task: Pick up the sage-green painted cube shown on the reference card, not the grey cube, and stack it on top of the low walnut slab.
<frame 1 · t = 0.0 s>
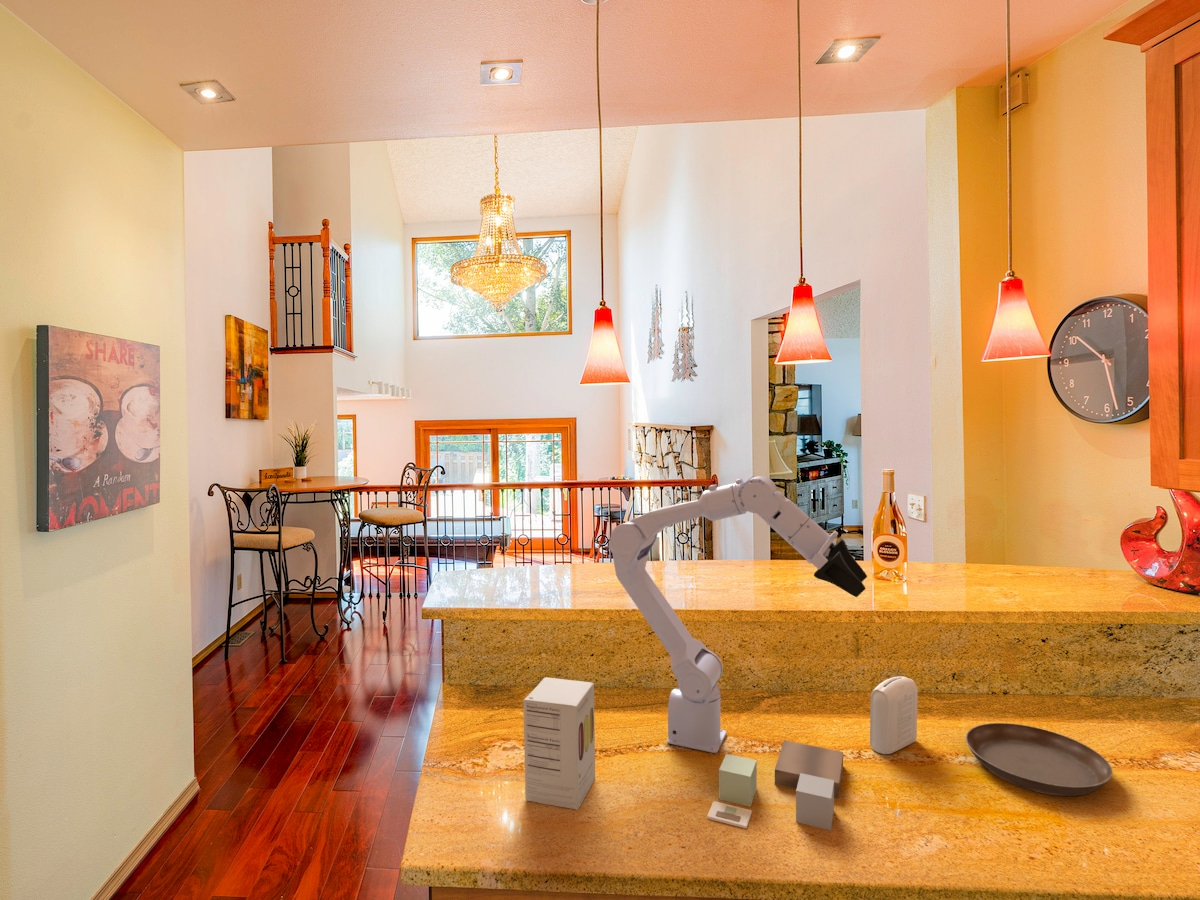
hand: (862, 586, 107), 32 cm above the counter, tool tilted 50°, fingers open, 7 cm apart
grey cube: (815, 816, 98), on the counter
walnut slab: (809, 777, 109), on the counter
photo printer: (893, 745, 118), on the counter
sage cube: (738, 794, 104), on the counter
plant saucer: (1034, 770, 110), on the counter
reference card: (729, 815, 98), on the counter
supplement box: (561, 790, 106), on the counter
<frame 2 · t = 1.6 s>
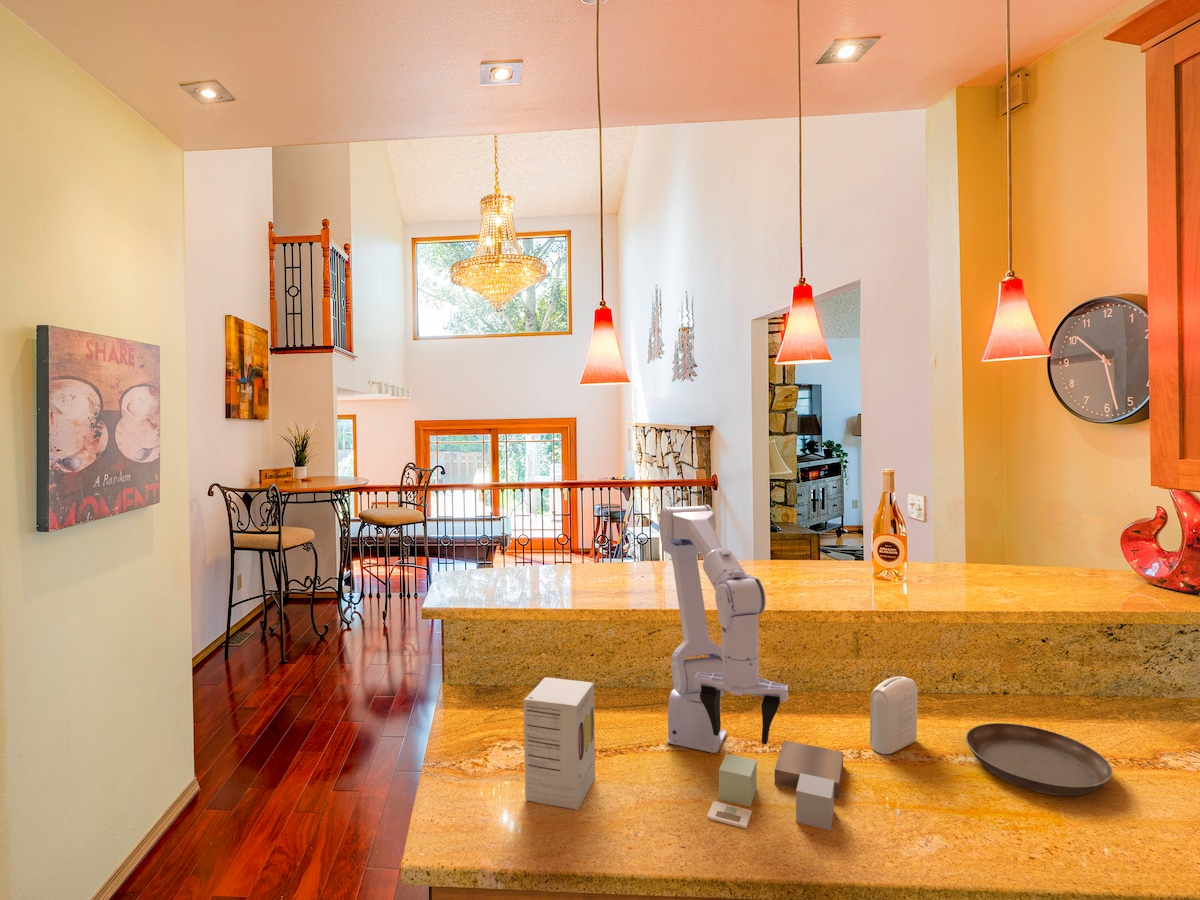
hand: (740, 736, 103), 10 cm above the counter, tool pointing down, fingers open, 7 cm apart
nothing on the counter moved.
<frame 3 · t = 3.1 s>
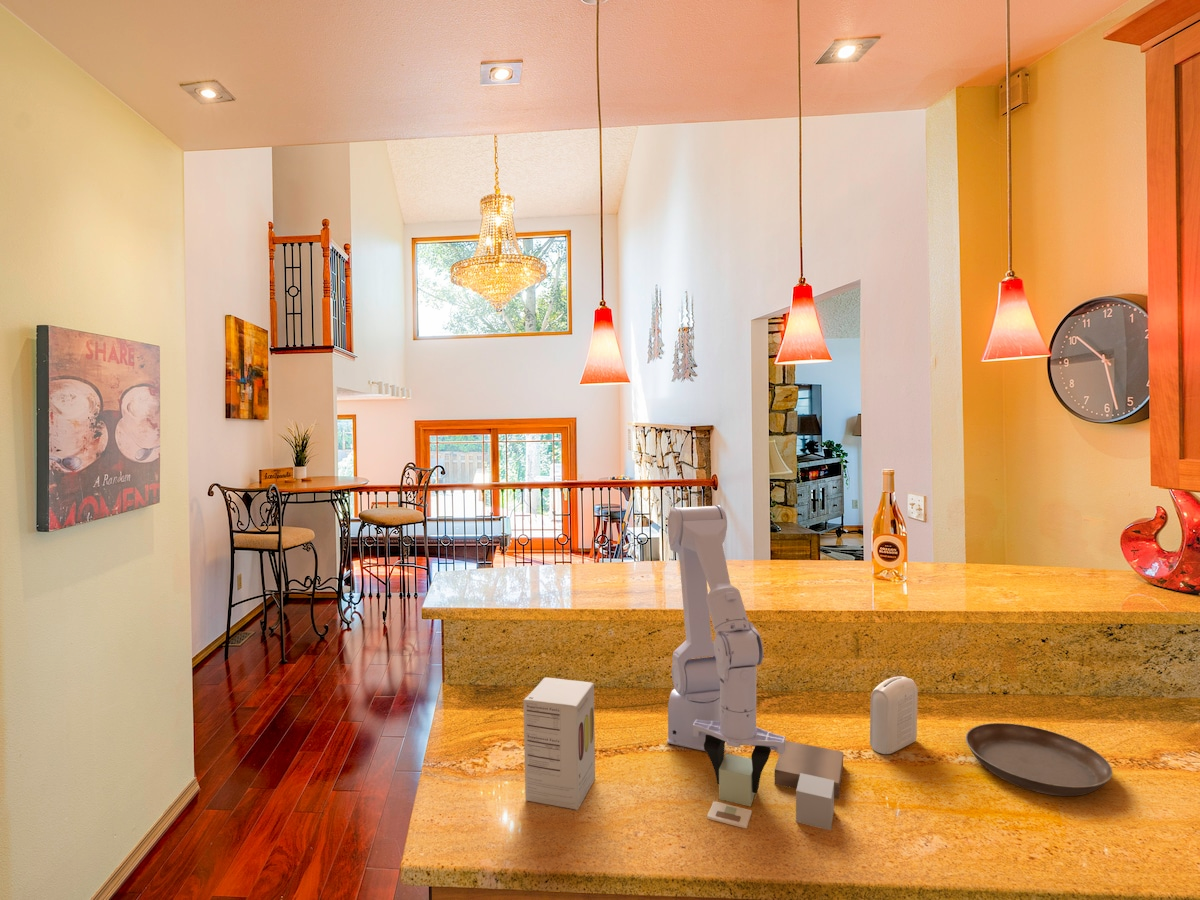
hand: (738, 785, 104), 1 cm above the counter, tool pointing down, fingers closed on sage cube, 5 cm apart
sage cube: (738, 793, 104), on the counter, touching gripper
everything else where it was.
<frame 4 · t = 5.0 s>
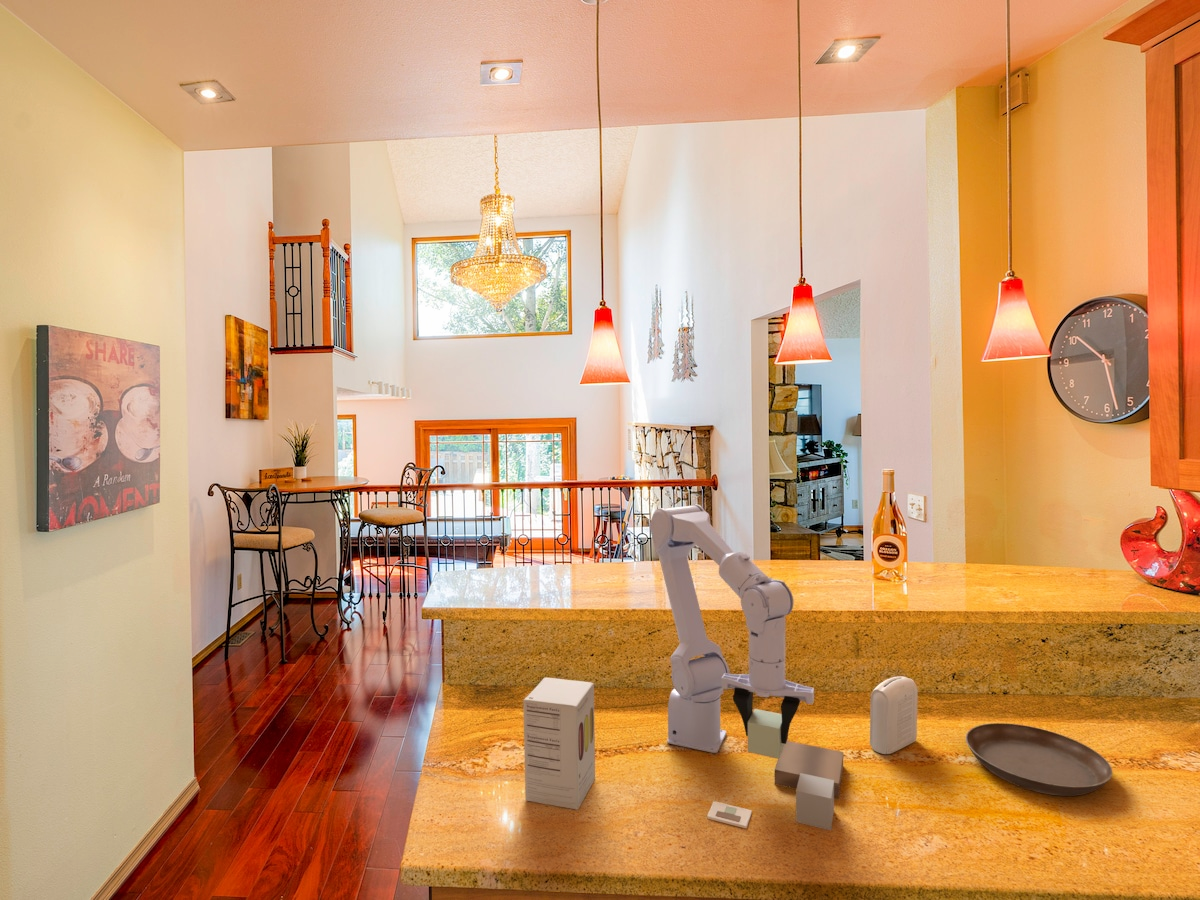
hand: (766, 737, 105), 8 cm above the counter, tool pointing down, fingers closed on sage cube, 5 cm apart
sage cube: (766, 747, 105), point 7 cm above the counter, touching gripper
everything else where it was.
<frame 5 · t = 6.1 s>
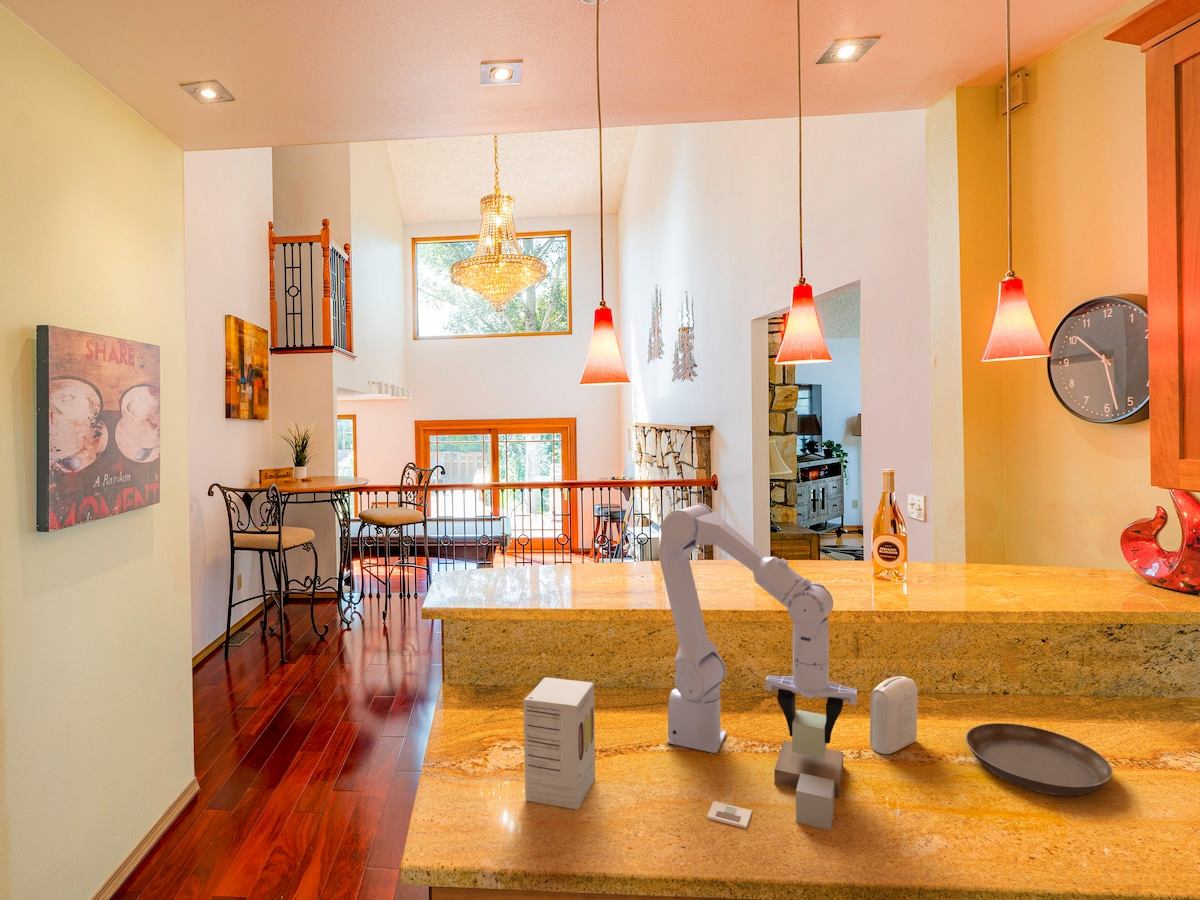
hand: (810, 737, 108), 7 cm above the counter, tool pointing down, fingers closed on sage cube, 5 cm apart
sage cube: (809, 747, 108), point 5 cm above the counter, touching gripper
everything else where it was.
when the fingers open (5 cm above the counter, at t = 6.9 s): sage cube drops 1 cm, point 2 cm above the counter.
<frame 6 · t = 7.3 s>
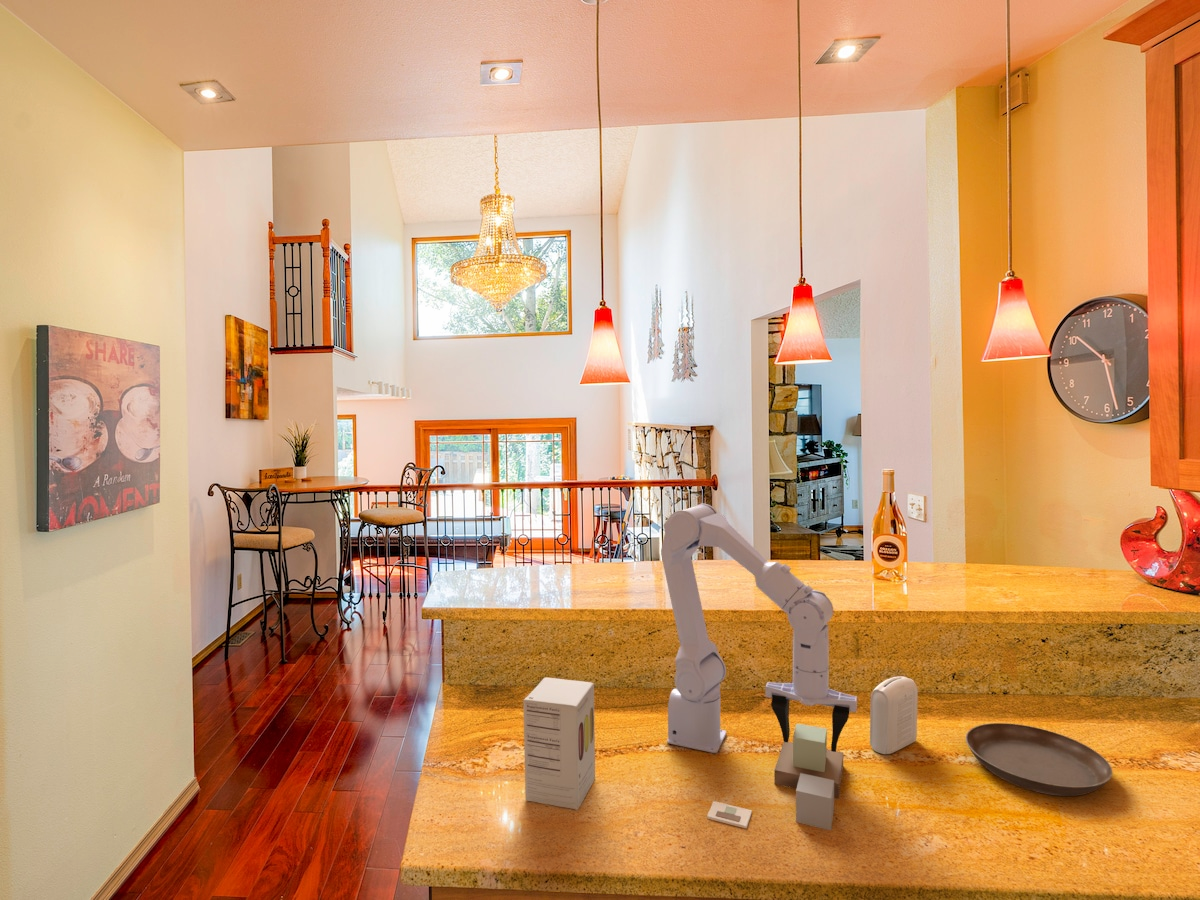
hand: (809, 744, 108), 5 cm above the counter, tool pointing down, fingers open, 7 cm apart
sage cube: (809, 761, 109), point 2 cm above the counter
everything else where it was.
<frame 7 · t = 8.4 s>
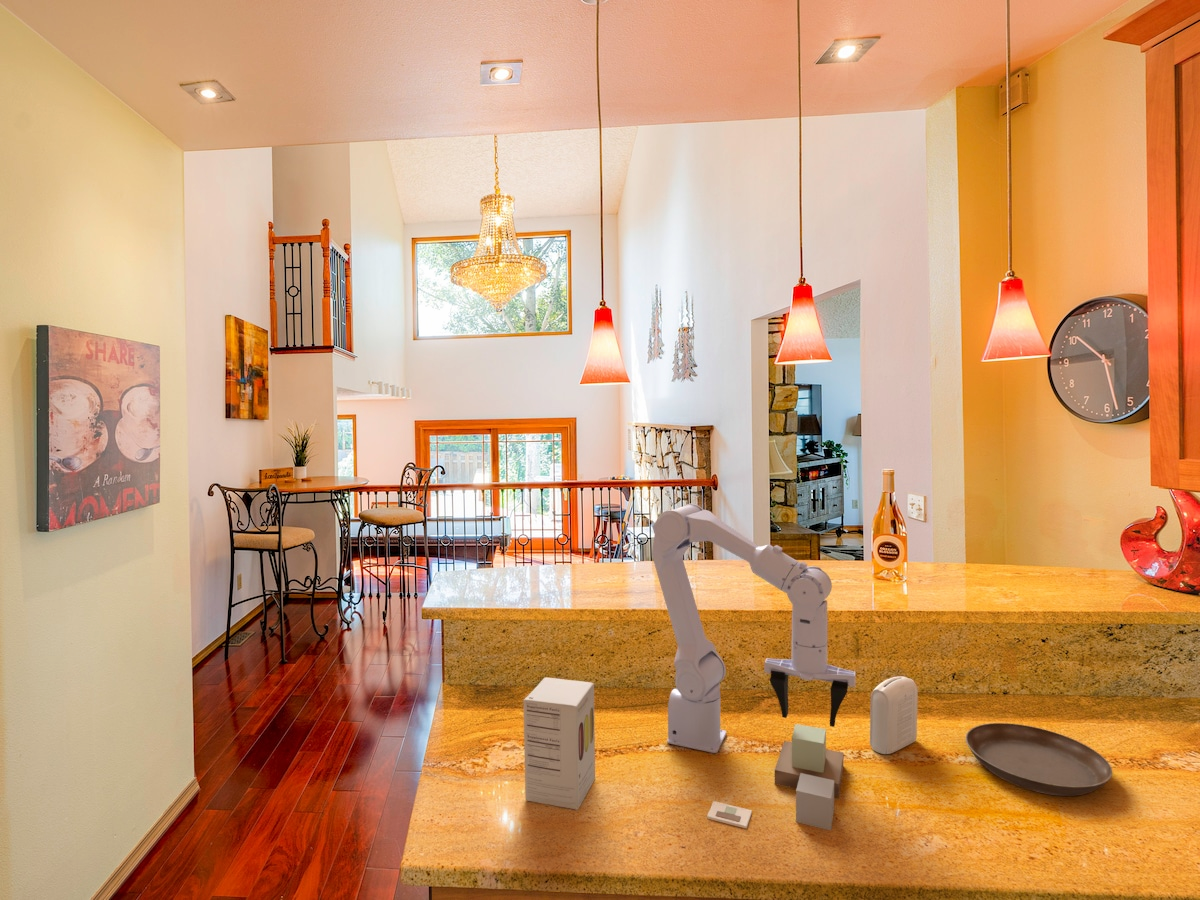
hand: (808, 719, 109), 9 cm above the counter, tool pointing down, fingers open, 7 cm apart
walnut slab: (809, 778, 109), on the counter, touching sage cube
sage cube: (808, 761, 108), point 2 cm above the counter, touching walnut slab
everything else where it was.
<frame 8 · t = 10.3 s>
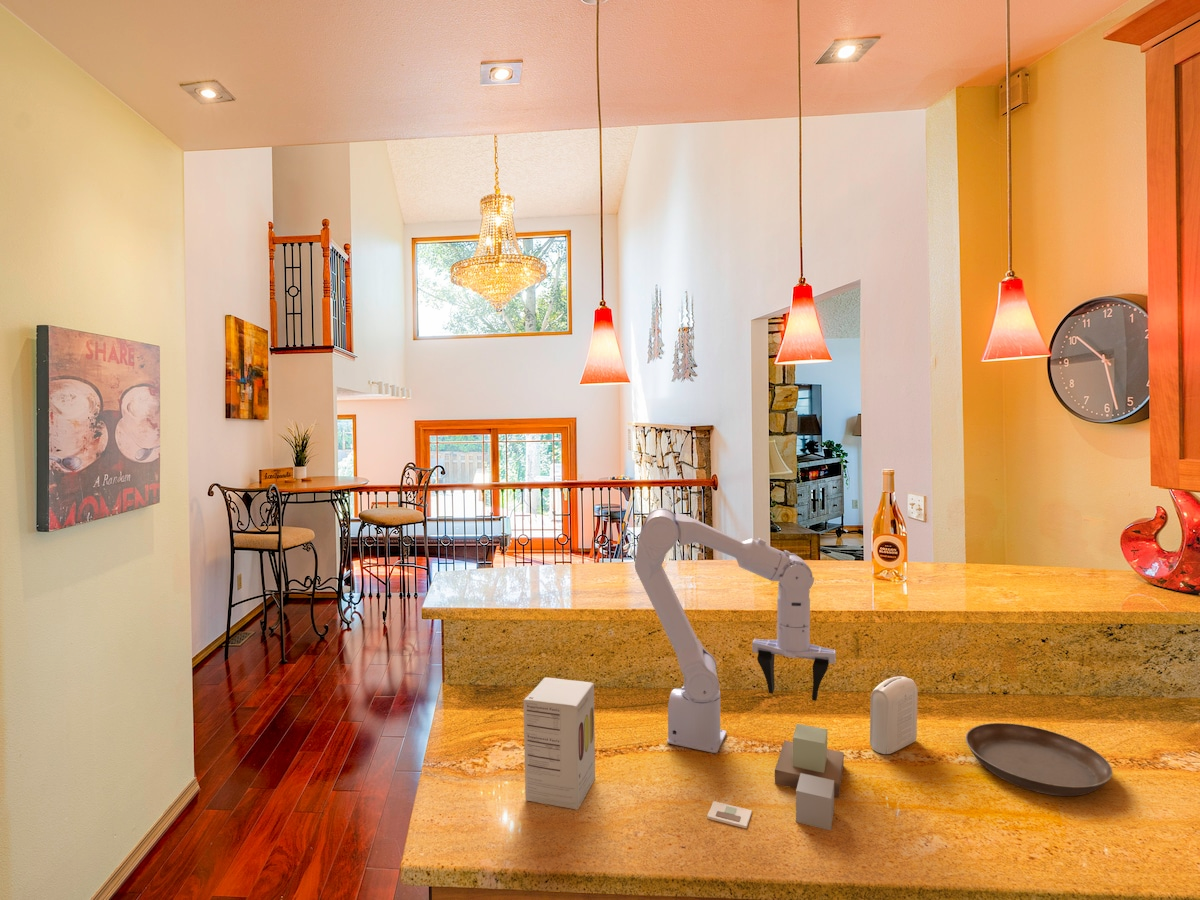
hand: (792, 694, 118), 9 cm above the counter, tool pointing down, fingers open, 7 cm apart
nothing on the counter moved.
at the end: sage cube 0.4 cm off-centre on the walnut slab, point 3.0 cm above the walnut slab's base; sage cube tilted 0°; the gripper is holding nothing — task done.
